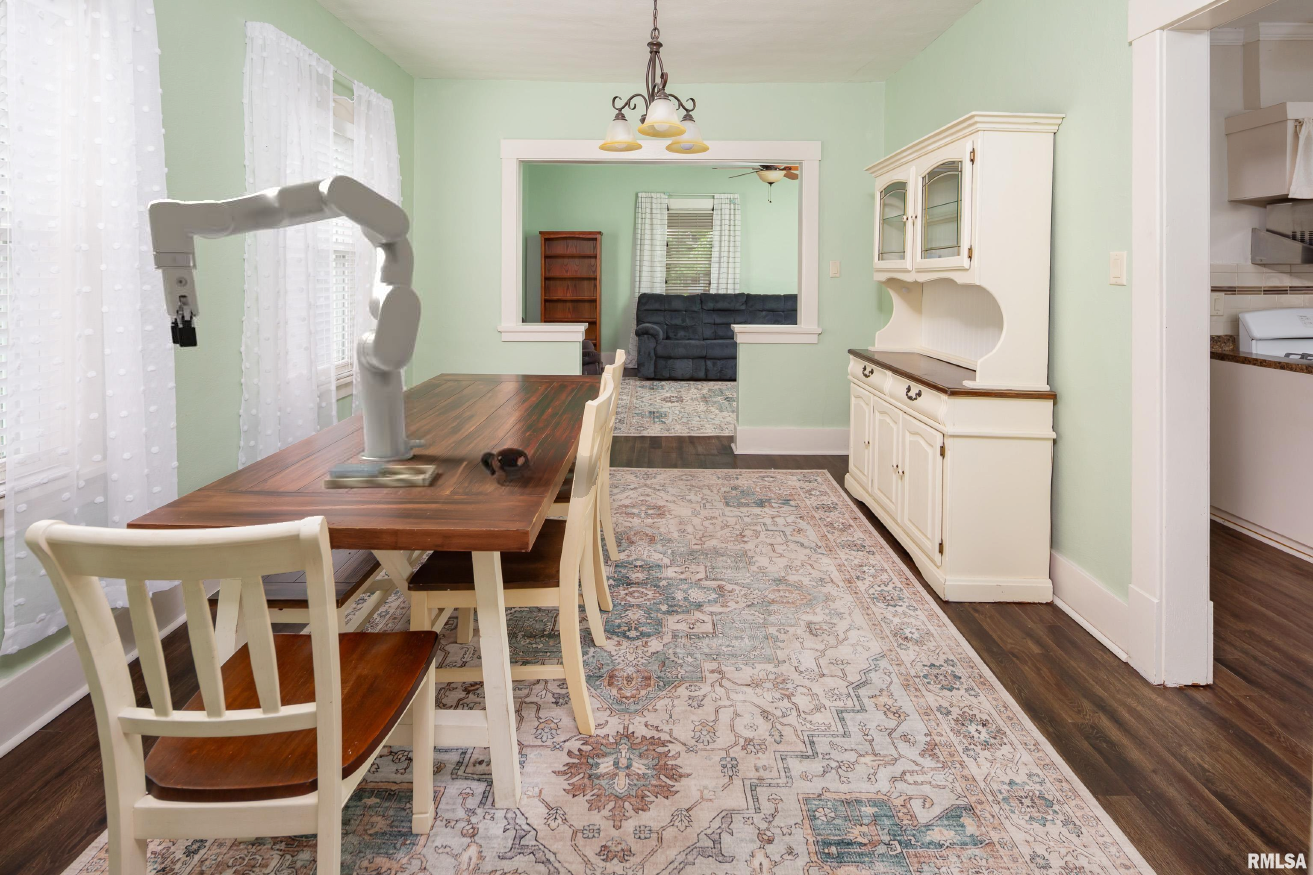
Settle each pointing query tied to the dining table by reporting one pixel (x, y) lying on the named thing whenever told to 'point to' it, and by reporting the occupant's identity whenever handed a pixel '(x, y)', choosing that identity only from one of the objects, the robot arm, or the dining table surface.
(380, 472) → the cover plate
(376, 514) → the dining table surface
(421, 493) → the dining table surface
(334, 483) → the tray
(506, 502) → the dining table surface
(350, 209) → the robot arm
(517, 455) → the pottery mug
